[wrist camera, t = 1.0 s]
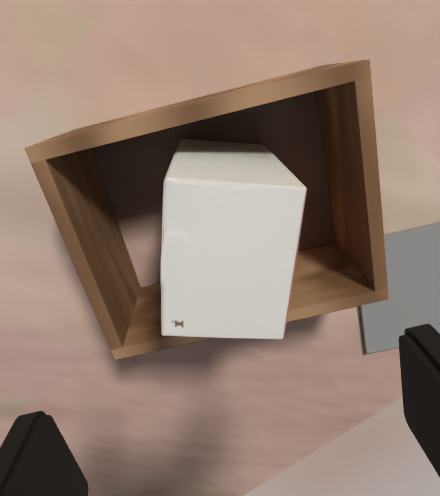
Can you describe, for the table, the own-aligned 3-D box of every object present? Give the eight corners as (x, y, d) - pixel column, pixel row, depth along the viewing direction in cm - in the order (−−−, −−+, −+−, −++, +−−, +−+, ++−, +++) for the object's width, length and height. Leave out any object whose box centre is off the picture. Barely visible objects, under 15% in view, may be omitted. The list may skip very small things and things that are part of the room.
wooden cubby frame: (324, 65, 27) (369, 59, 20) (347, 249, 32) (389, 299, 25) (72, 130, 28) (24, 148, 21) (134, 298, 33) (114, 359, 26)
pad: (477, 213, 31) (481, 215, 31) (475, 327, 36) (478, 330, 35) (352, 242, 32) (354, 244, 32) (365, 350, 36) (366, 353, 36)
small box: (255, 245, 32) (285, 344, 20) (175, 241, 32) (157, 339, 20) (266, 141, 29) (310, 185, 17) (178, 136, 28) (159, 177, 16)
